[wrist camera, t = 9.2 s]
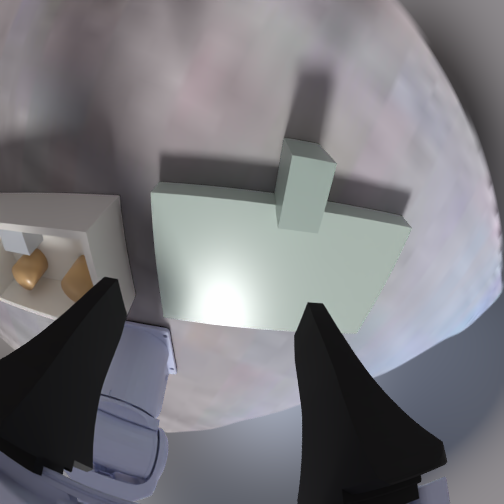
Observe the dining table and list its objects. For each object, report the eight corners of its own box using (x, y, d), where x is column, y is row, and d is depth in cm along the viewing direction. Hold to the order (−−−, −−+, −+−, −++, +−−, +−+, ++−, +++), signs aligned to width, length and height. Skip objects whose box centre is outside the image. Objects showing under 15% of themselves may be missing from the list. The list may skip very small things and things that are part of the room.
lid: (352, 319, 25) (362, 354, 21) (168, 302, 24) (157, 339, 20) (418, 170, 16) (450, 195, 12) (159, 126, 15) (132, 142, 11)
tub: (136, 294, 23) (118, 337, 19) (21, 271, 22) (-1, 300, 18) (119, 195, 18) (86, 232, 14) (-5, 192, 17) (-36, 218, 13)
